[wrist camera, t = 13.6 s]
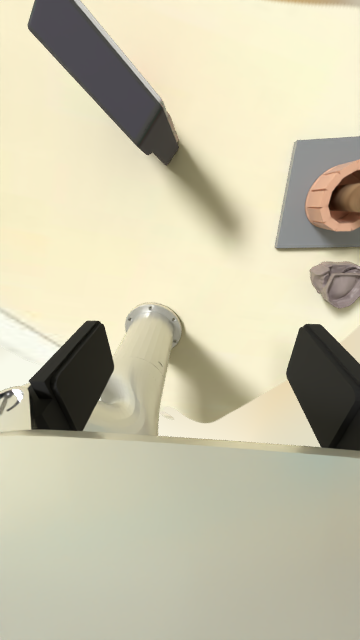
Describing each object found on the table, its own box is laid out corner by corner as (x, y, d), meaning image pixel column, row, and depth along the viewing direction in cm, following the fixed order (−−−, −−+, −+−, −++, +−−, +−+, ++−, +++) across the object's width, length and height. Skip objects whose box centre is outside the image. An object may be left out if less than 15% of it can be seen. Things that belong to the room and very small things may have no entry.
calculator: (183, 143, 30) (169, 97, 17) (164, 170, 31) (138, 148, 19) (121, 70, 27) (46, -55, 14) (104, 105, 28) (23, 24, 15)
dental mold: (299, 292, 39) (311, 303, 35) (315, 256, 36) (331, 263, 32) (340, 299, 39) (357, 311, 35) (361, 263, 36) (383, 272, 31)
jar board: (361, 245, 34) (387, 252, 29) (274, 246, 35) (286, 254, 31) (404, 135, 27) (448, 120, 22) (294, 142, 29) (313, 130, 24)
